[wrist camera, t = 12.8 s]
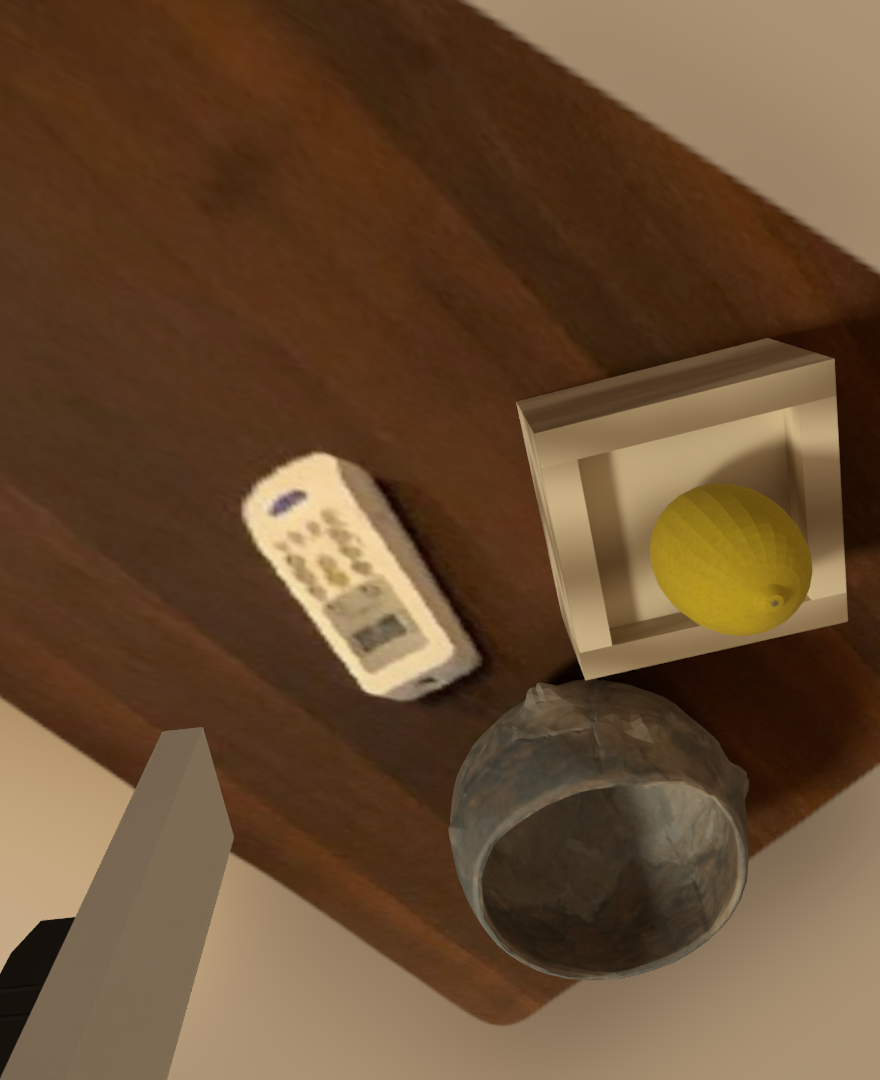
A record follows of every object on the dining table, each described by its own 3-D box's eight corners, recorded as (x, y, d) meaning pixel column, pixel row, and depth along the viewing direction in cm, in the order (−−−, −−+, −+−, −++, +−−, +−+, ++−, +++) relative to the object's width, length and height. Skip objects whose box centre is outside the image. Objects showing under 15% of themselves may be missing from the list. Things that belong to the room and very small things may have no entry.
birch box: (515, 400, 36) (534, 433, 30) (764, 337, 36) (834, 358, 30) (561, 614, 41) (585, 680, 35) (783, 562, 40) (847, 621, 34)
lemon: (766, 471, 33) (879, 544, 26) (722, 584, 35) (816, 681, 28) (647, 449, 32) (729, 518, 25) (610, 566, 34) (675, 662, 27)
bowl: (748, 712, 43) (837, 843, 34) (585, 886, 48) (625, 1043, 39) (550, 594, 40) (589, 703, 31) (397, 793, 45) (390, 939, 35)
